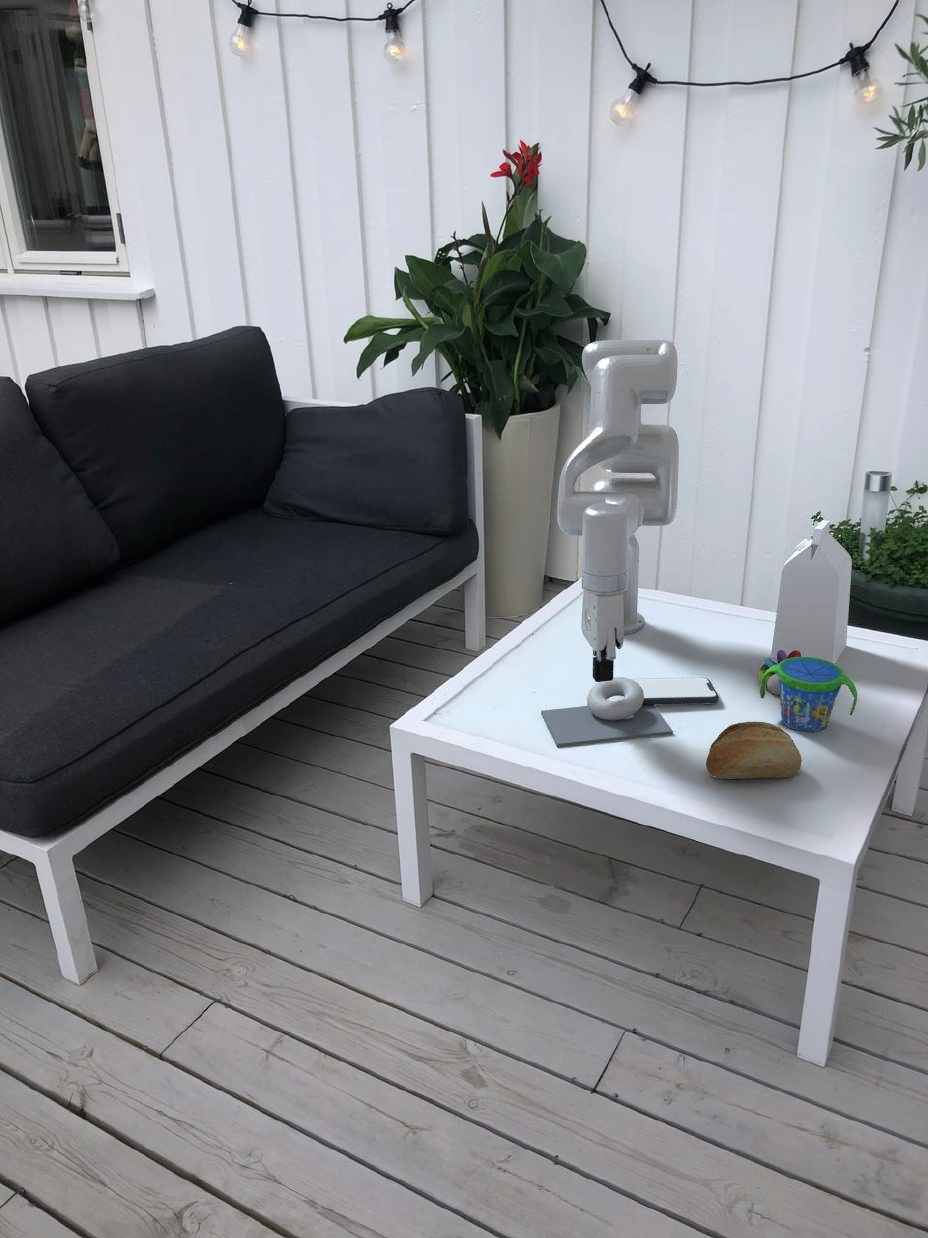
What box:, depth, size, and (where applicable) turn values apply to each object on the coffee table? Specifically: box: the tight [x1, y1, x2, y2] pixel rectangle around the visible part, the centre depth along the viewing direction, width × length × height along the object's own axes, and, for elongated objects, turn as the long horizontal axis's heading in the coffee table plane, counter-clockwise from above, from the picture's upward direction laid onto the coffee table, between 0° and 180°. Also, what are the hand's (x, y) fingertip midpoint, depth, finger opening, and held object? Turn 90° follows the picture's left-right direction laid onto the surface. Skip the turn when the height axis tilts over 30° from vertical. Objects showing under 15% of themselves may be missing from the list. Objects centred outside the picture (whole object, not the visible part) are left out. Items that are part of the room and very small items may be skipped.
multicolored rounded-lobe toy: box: [757, 650, 801, 695], centre depth 183 cm, size 8×10×7 cm
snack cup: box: [759, 657, 858, 733], centre depth 170 cm, size 16×10×10 cm
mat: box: [540, 705, 674, 748], centre depth 174 cm, size 12×20×1 cm, turn 99°
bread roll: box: [705, 721, 803, 780], centre depth 156 cm, size 10×15×8 cm, turn 97°
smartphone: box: [631, 677, 719, 706], centre depth 182 cm, size 9×2×16 cm
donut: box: [586, 676, 644, 721], centre depth 176 cm, size 10×4×10 cm
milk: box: [770, 519, 853, 664], centre depth 193 cm, size 12×12×26 cm
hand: (602, 679), depth 173 cm, fingers closed
